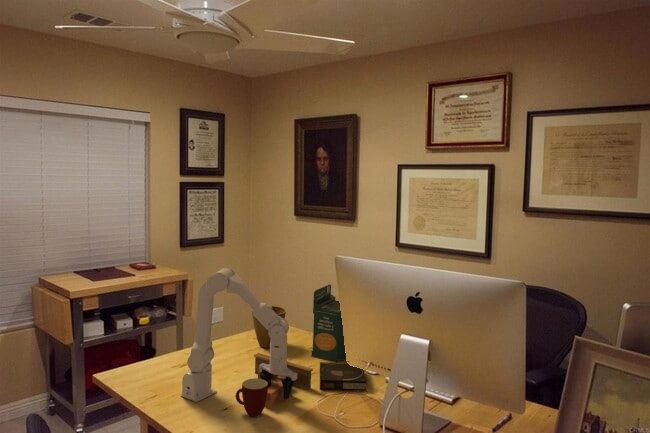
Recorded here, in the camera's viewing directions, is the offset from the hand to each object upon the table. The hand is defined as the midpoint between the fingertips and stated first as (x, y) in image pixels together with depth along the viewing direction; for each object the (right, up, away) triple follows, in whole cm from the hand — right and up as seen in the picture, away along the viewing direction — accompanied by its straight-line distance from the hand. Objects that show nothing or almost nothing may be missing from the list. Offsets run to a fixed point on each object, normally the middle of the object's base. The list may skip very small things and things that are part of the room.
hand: (277, 395), depth 164 cm
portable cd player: (+22, -2, +17) cm, 28 cm away
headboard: (-1, 0, +13) cm, 13 cm away
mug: (-7, -2, -10) cm, 13 cm away
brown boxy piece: (0, -2, 0) cm, 2 cm away
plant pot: (-9, +3, +52) cm, 53 cm away
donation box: (+21, +1, +44) cm, 49 cm away
